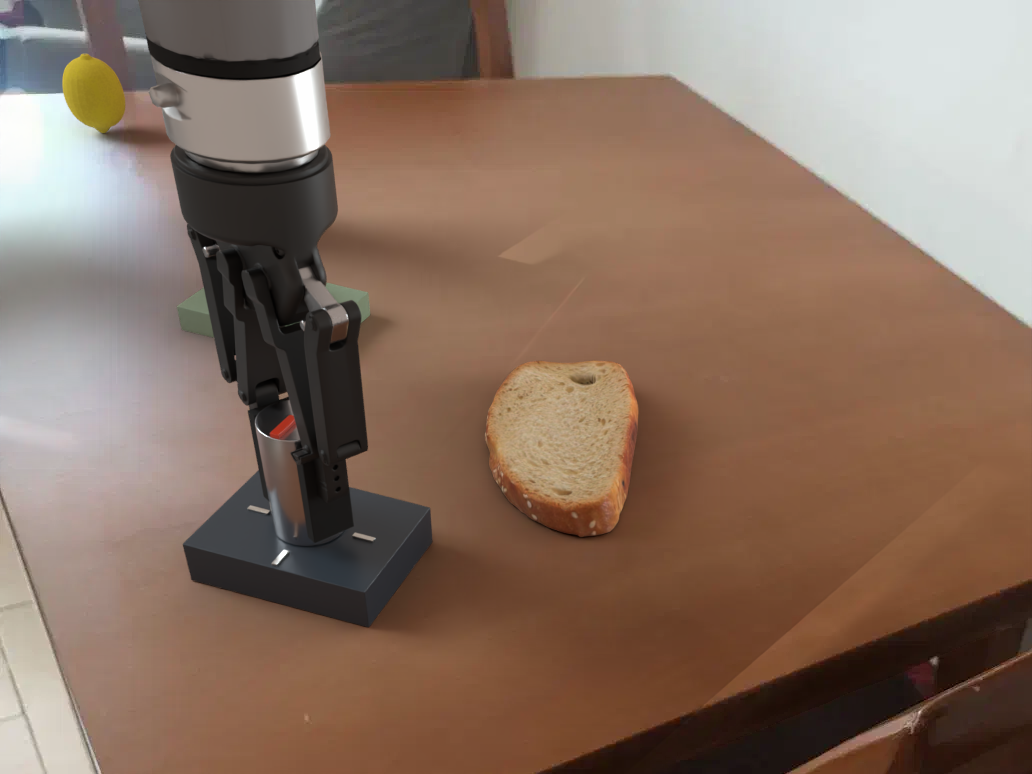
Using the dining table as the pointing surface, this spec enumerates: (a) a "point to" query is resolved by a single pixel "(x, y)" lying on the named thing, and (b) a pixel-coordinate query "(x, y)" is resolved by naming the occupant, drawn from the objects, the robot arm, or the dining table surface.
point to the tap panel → (312, 555)
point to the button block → (199, 322)
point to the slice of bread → (565, 443)
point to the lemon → (93, 93)
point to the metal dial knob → (283, 473)
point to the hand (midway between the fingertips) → (308, 510)
